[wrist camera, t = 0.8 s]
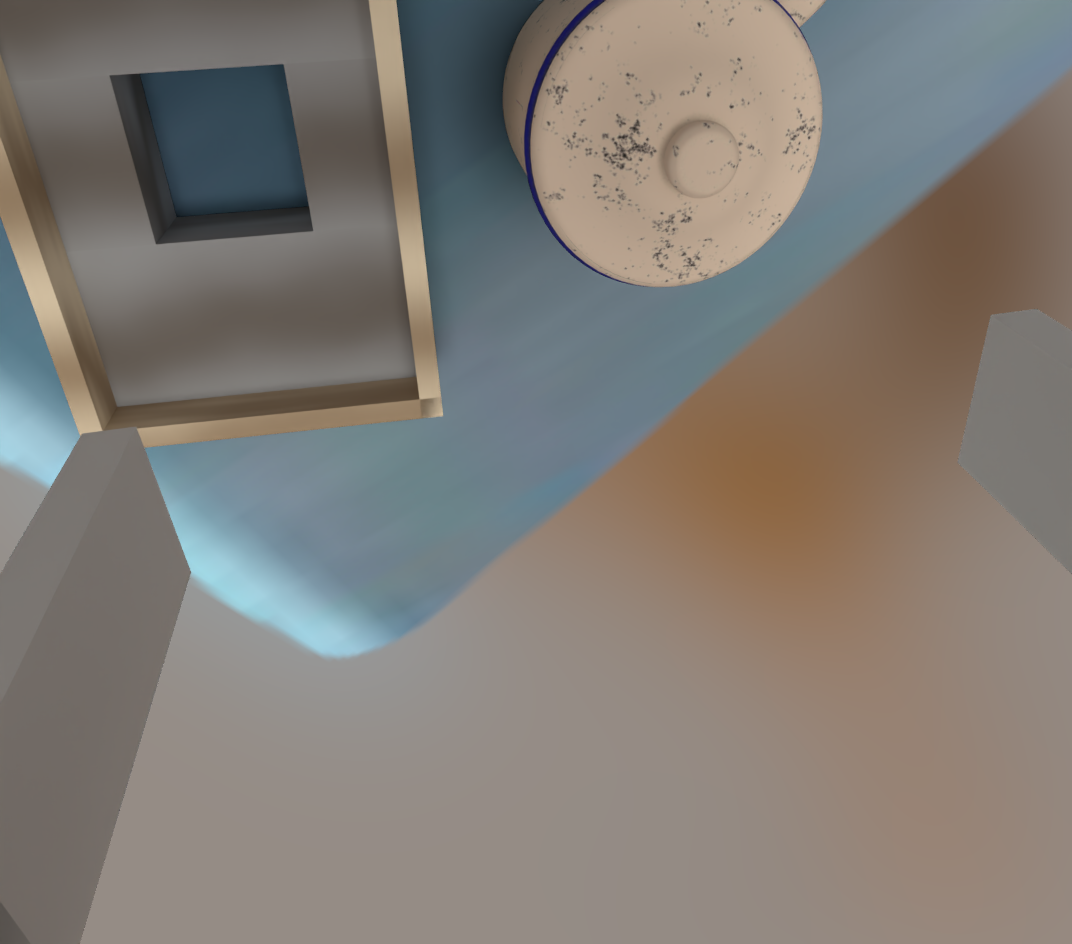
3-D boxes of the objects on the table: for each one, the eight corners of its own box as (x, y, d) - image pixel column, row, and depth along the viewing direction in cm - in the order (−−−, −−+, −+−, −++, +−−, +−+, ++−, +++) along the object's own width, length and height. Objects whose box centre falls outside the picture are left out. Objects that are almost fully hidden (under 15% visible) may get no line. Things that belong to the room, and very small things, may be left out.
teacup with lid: (599, 262, 37) (676, 381, 27) (444, 92, 33) (468, 159, 23) (834, 45, 34) (1019, 90, 24) (696, -175, 29) (851, -230, 20)
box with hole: (-57, -176, 27) (-151, -199, 22) (374, -192, 28) (371, -217, 23) (125, 387, 37) (86, 453, 32) (436, 357, 38) (443, 416, 33)
